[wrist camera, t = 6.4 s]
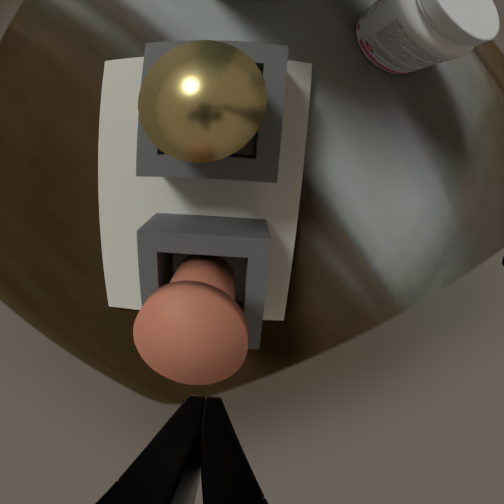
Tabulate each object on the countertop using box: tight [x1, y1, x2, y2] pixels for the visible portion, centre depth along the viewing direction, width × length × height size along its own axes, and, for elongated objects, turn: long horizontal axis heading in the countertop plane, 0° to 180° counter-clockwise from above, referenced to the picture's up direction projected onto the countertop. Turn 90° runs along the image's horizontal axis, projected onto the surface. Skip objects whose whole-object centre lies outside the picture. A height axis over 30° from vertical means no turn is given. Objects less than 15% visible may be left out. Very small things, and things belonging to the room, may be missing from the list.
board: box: [98, 41, 312, 350], centre depth 16 cm, size 12×16×4 cm
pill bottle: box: [356, 0, 499, 74], centre depth 10 cm, size 5×5×8 cm
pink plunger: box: [133, 254, 248, 385], centre depth 14 cm, size 5×5×6 cm
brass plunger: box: [138, 40, 267, 163], centre depth 12 cm, size 5×5×6 cm
